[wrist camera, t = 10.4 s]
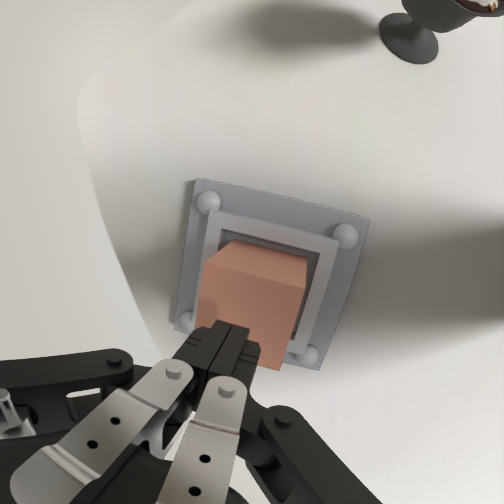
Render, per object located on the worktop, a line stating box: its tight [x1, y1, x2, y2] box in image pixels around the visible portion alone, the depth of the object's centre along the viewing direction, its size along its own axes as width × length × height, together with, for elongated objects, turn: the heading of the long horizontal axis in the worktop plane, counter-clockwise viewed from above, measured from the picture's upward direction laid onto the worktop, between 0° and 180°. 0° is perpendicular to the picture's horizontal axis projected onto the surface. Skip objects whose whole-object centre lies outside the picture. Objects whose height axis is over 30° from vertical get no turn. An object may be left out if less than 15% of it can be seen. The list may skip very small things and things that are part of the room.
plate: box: [174, 179, 370, 371], centre depth 20 cm, size 12×12×2 cm
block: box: [194, 239, 307, 371], centre depth 17 cm, size 5×5×6 cm
